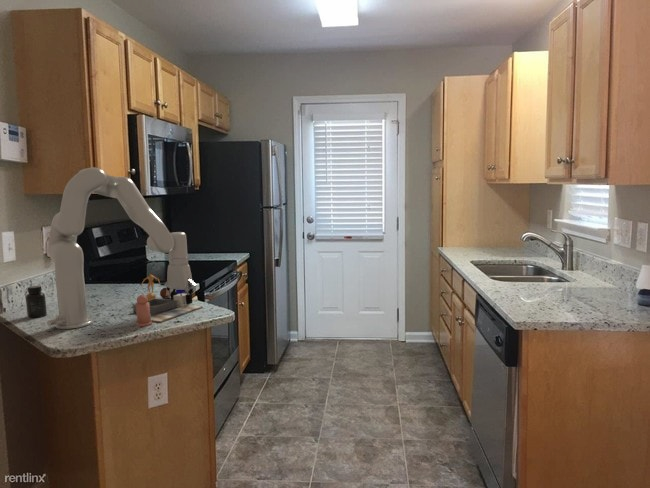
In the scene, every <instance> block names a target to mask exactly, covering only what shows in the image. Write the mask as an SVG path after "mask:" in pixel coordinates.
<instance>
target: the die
mask: <svg viewBox="0 0 650 488" xmlns="http://www.w3.org/2000/svg"><path fill="white" fill-rule="evenodd" d="M186 295H187V294H182V293H180V294H177V295H174V296H173V298H174V300H177V307H179V308H180V307H183V306H186V305H190V304H186Z"/></svg>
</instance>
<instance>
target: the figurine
mask: <svg viewBox="0 0 650 488" xmlns="http://www.w3.org/2000/svg"><path fill="white" fill-rule="evenodd" d="M154 279H155V280H157V281H158V285H159V286H161V285H160V283H161V282H160V279H159V277H156V276H154V275H153V274H148V276H147V277H146V278H143V281H142V282H141V284H140V285H141V287H142V286H143V284H144V282H145V281H146V280H148V282H147V287H146V288H147V290H148V293H147V294H146V295H145V296H146V297H147V298H148V300H151V299H154V298H156V295H155V294H154V286H155V282H154ZM150 287H151V288H150ZM156 299H157V298H156Z"/></svg>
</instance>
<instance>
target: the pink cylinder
mask: <svg viewBox="0 0 650 488" xmlns="http://www.w3.org/2000/svg"><path fill="white" fill-rule="evenodd" d="M146 296H147V295H146V294H145V295H144V294H140V295H139V296H137V298H136V303H135V304H136V311H137V312H136V320H137V322H136V327H139V328H144V327H148V326H149V327H150V326H151V325H153V322H152V321H151V314H150V306H149V302H148V298H147V297H146Z"/></svg>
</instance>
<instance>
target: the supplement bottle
mask: <svg viewBox="0 0 650 488" xmlns="http://www.w3.org/2000/svg"><path fill="white" fill-rule="evenodd" d="M42 290H43V289H42V286H41V285H33V286H32V285H31V286H28V287H27V294H26V295H25V304H26V305H25V306H26V314H27V315H26V316H27V318H29V319H39V318H43V317H46V316H47V314H48V311H47V302H46V294H45V293H44V292H42Z"/></svg>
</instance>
